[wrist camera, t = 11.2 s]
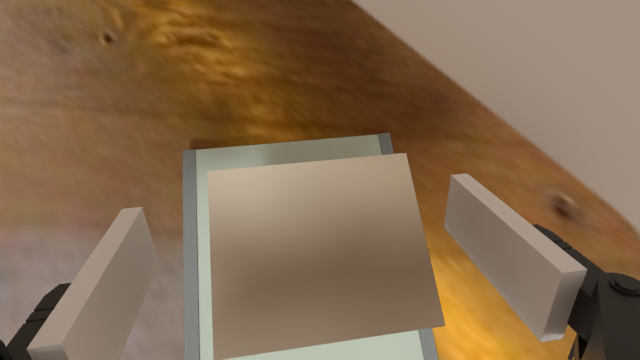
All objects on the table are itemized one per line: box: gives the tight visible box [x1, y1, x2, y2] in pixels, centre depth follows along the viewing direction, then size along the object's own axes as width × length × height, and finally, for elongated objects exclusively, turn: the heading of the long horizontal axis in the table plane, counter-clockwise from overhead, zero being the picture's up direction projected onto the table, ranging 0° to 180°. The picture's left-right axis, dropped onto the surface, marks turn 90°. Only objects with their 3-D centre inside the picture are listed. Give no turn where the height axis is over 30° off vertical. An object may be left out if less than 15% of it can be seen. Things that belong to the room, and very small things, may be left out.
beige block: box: [208, 153, 445, 360], centre depth 16 cm, size 5×6×12 cm
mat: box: [183, 133, 438, 360], centre depth 22 cm, size 18×14×1 cm
